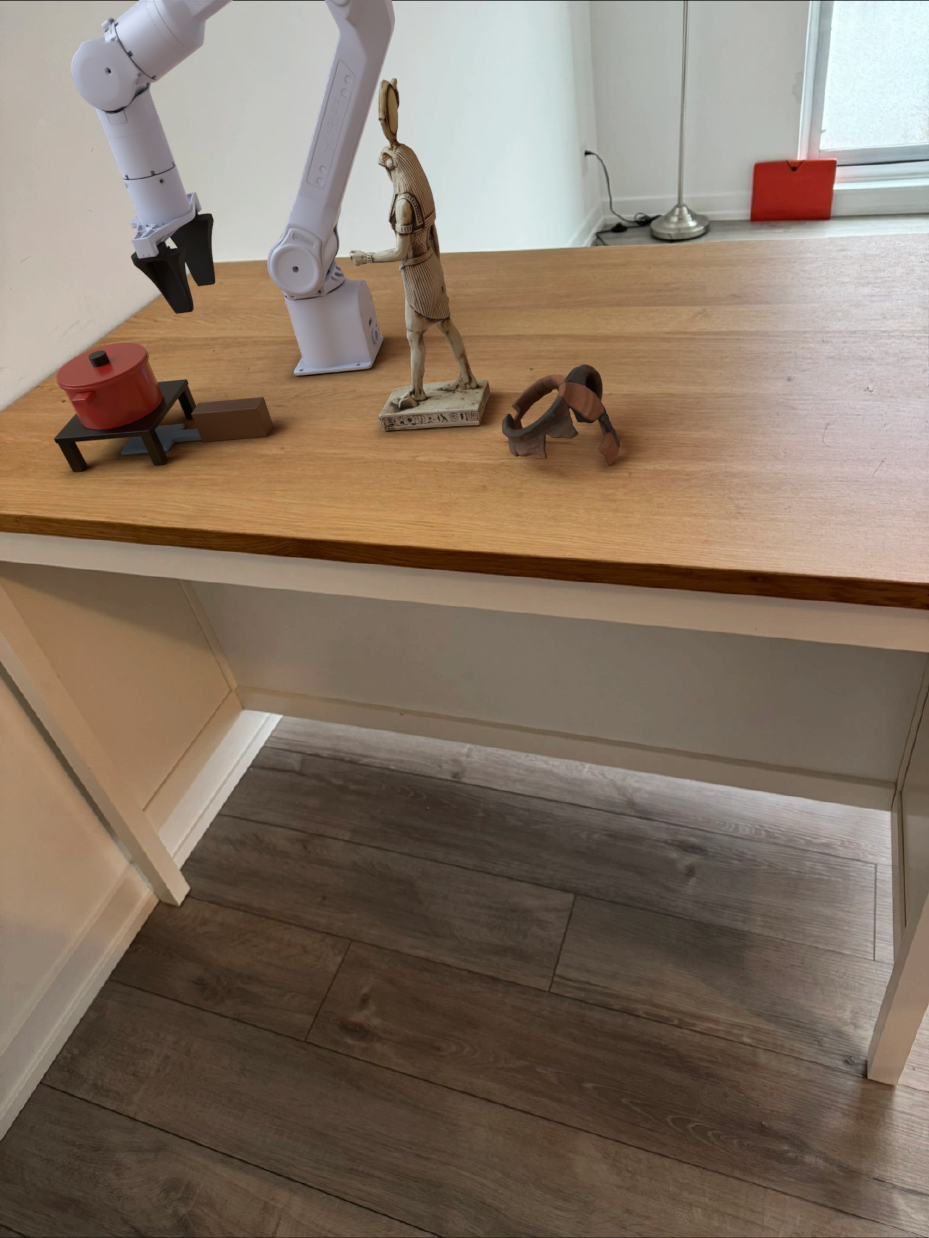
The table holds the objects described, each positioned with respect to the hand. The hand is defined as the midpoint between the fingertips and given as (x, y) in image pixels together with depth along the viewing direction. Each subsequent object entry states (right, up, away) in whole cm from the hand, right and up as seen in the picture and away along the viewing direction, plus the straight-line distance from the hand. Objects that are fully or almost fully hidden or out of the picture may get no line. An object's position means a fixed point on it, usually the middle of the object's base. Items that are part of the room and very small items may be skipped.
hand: (196, 297), depth 101 cm
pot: (-5, -17, -4) cm, 18 cm away
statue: (+28, -16, -10) cm, 34 cm away
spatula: (+2, -17, -5) cm, 18 cm away
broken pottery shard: (+41, -21, -19) cm, 50 cm away
